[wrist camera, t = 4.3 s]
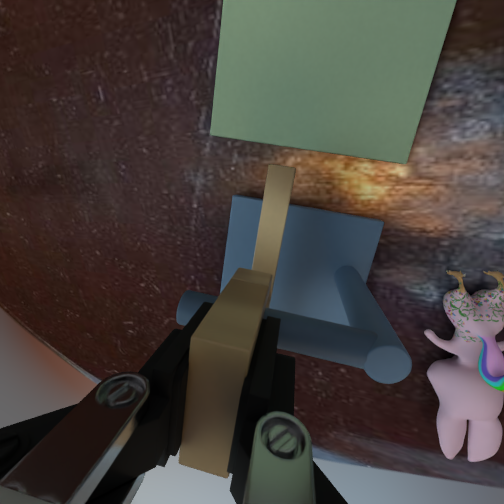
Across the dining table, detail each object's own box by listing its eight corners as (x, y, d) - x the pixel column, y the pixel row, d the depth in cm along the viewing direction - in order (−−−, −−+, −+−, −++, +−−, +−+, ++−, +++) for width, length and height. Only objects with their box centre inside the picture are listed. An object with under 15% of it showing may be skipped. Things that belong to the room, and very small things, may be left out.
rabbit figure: (414, 265, 22) (407, 438, 23) (456, 281, 16) (444, 510, 17) (503, 266, 20) (490, 447, 22) (585, 283, 15) (560, 528, 16)
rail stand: (236, 194, 21) (171, 211, 10) (379, 219, 20) (472, 268, 9) (222, 296, 24) (159, 393, 13) (348, 324, 22) (392, 457, 12)
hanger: (271, 164, 17) (209, 139, 5) (296, 168, 17) (287, 151, 5) (242, 338, 21) (169, 540, 9) (262, 343, 21) (214, 556, 9)
